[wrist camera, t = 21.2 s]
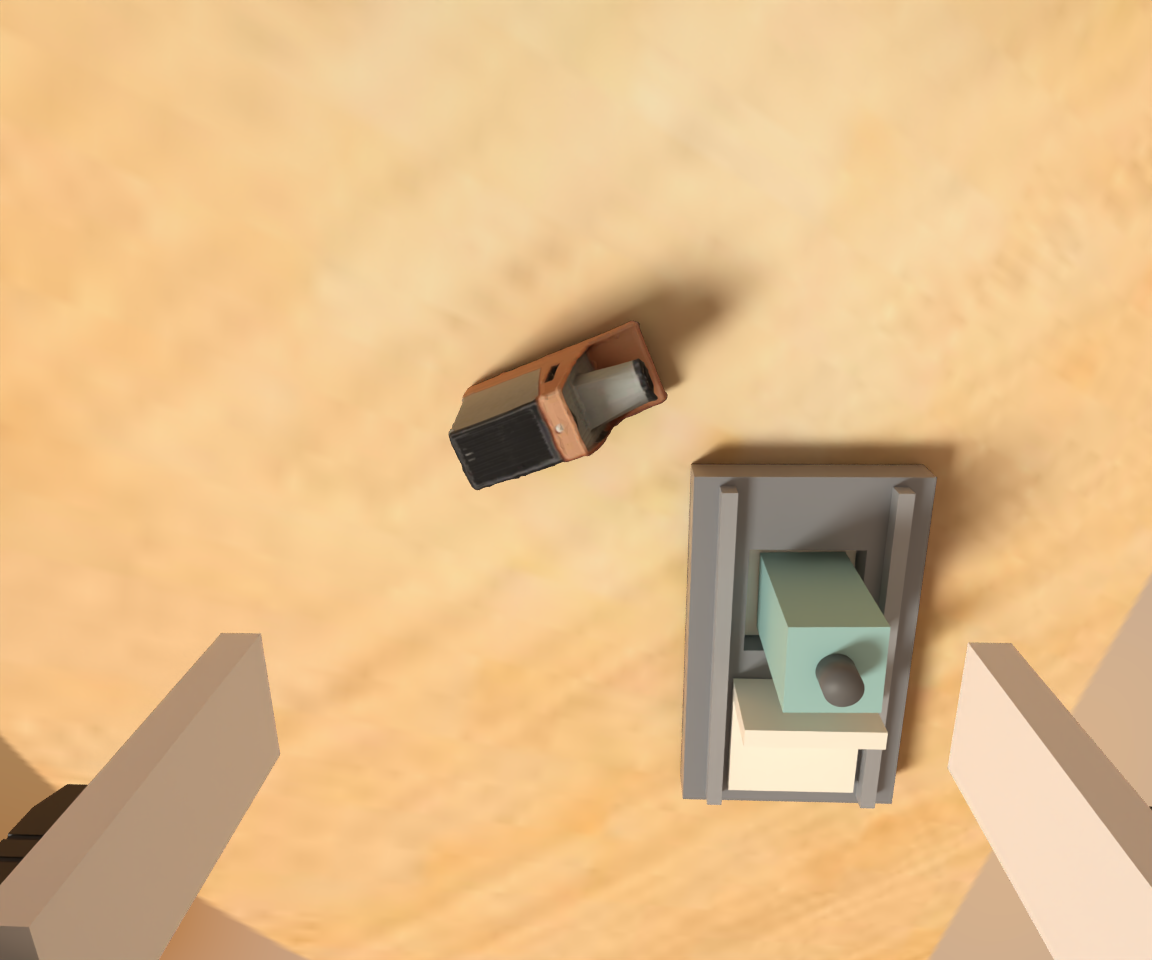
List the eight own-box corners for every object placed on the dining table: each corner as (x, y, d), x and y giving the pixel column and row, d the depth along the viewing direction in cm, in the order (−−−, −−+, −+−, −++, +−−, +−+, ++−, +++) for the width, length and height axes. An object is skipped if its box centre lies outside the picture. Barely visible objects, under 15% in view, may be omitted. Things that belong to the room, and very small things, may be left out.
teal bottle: (760, 552, 45) (794, 644, 36) (845, 551, 45) (901, 644, 36) (756, 626, 47) (789, 732, 38) (838, 626, 46) (891, 733, 37)
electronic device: (668, 395, 43) (676, 437, 36) (500, 462, 45) (476, 515, 38) (636, 315, 42) (637, 342, 35) (464, 388, 44) (432, 428, 37)
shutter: (733, 678, 46) (744, 730, 42) (862, 680, 46) (887, 732, 41) (727, 782, 48) (737, 842, 44) (850, 785, 48) (873, 845, 44)
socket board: (690, 464, 44) (695, 483, 41) (923, 464, 44) (944, 484, 41) (680, 776, 51) (683, 811, 48) (881, 780, 50) (896, 815, 48)
